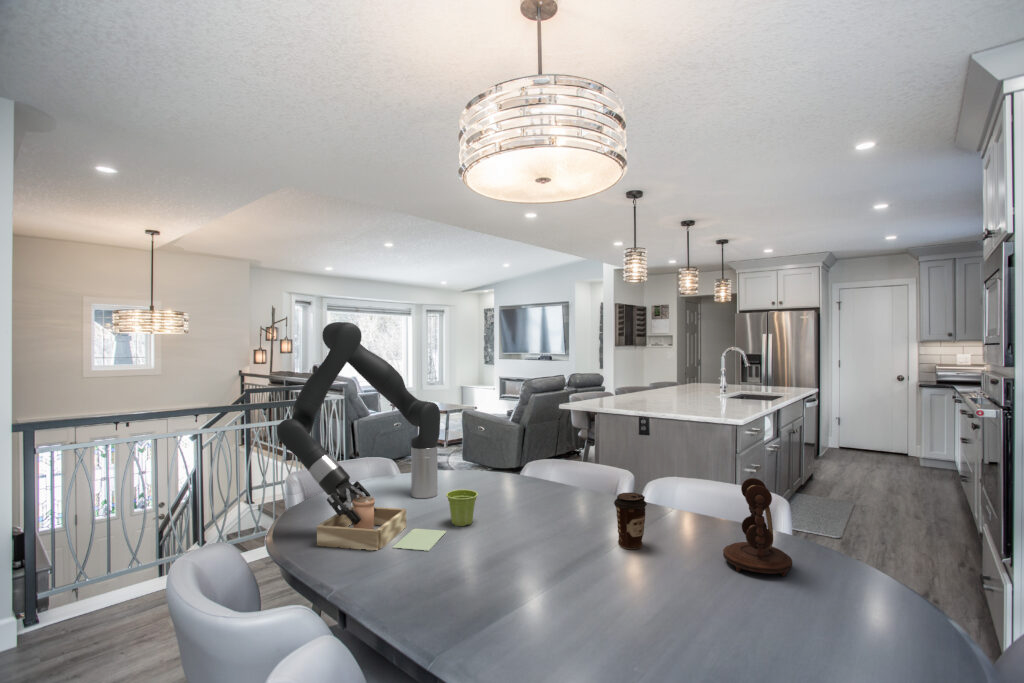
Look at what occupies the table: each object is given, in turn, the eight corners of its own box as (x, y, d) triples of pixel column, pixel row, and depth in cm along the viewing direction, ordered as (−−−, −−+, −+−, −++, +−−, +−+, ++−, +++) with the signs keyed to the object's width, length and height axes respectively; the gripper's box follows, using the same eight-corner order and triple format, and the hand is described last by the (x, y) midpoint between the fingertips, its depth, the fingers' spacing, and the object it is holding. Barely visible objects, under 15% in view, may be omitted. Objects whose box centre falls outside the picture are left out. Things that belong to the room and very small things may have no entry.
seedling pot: (359, 531, 146) (359, 495, 146) (378, 532, 144) (378, 497, 144) (348, 538, 140) (348, 502, 140) (368, 540, 138) (368, 503, 139)
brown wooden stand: (799, 583, 111) (798, 492, 112) (727, 575, 116) (725, 487, 116) (784, 557, 126) (783, 476, 126) (720, 550, 130) (719, 472, 130)
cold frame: (350, 522, 153) (350, 505, 153) (408, 526, 149) (407, 509, 149) (314, 545, 135) (314, 526, 135) (378, 550, 131) (378, 531, 131)
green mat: (413, 529, 146) (413, 528, 146) (446, 531, 144) (446, 530, 144) (392, 548, 133) (392, 547, 133) (428, 551, 131) (428, 550, 131)
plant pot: (480, 518, 156) (480, 489, 156) (475, 529, 147) (474, 498, 147) (450, 517, 157) (450, 489, 157) (443, 528, 147) (443, 498, 148)
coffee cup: (654, 545, 134) (653, 495, 134) (638, 554, 128) (637, 502, 128) (624, 536, 140) (624, 489, 140) (608, 545, 134) (607, 496, 134)
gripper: (323, 471, 137) (362, 516, 134) (350, 460, 151) (386, 500, 148) (305, 490, 138) (344, 535, 135) (334, 477, 152) (370, 518, 149)
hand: (366, 517), depth 142 cm, fingers open, 8 cm apart
